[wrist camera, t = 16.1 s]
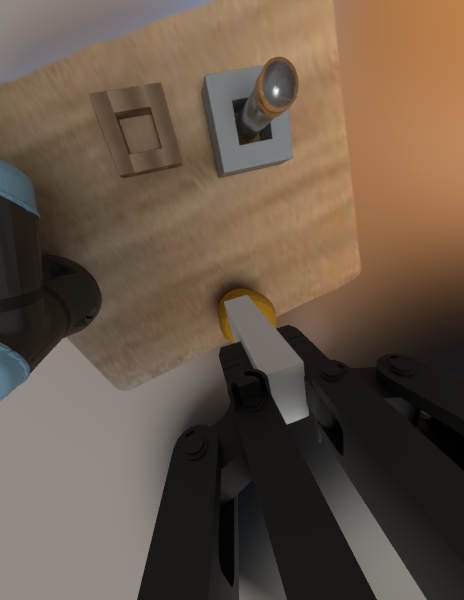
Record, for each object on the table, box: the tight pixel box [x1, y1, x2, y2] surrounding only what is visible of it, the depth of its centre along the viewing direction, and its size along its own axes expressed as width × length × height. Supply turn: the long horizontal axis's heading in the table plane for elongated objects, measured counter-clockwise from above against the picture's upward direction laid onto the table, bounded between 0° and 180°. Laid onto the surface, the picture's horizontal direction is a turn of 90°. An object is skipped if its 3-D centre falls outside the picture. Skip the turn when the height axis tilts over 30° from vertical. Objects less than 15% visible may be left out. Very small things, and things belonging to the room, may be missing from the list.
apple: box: [218, 289, 276, 343], centre depth 43 cm, size 11×11×13 cm
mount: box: [89, 83, 182, 178], centre depth 33 cm, size 10×10×2 cm
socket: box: [202, 65, 293, 178], centre depth 35 cm, size 12×12×5 cm
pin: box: [235, 57, 298, 145], centre depth 31 cm, size 5×5×15 cm
